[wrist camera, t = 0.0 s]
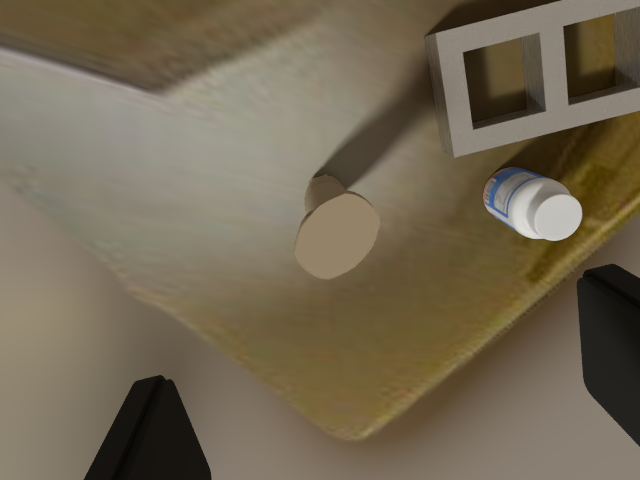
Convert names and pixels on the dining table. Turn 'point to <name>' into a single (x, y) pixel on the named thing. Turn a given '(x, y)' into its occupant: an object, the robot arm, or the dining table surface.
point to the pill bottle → (532, 204)
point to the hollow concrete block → (532, 74)
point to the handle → (334, 228)
